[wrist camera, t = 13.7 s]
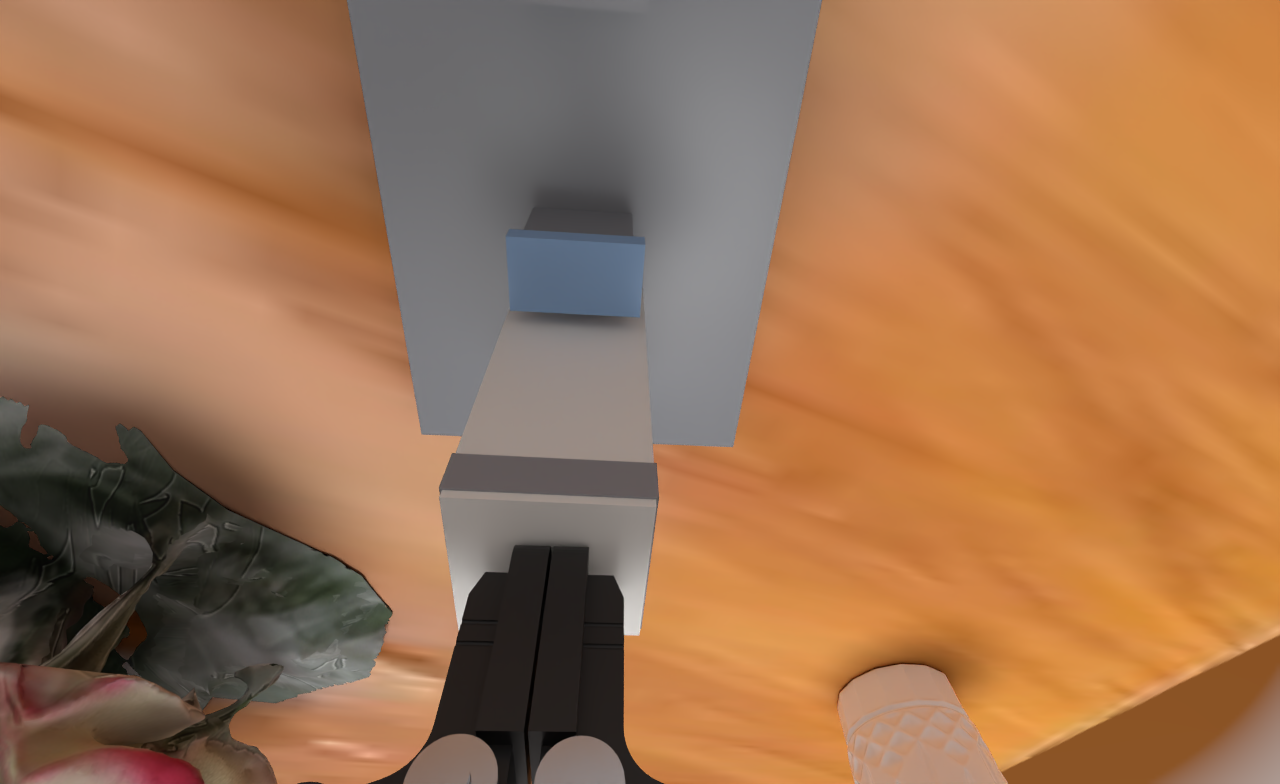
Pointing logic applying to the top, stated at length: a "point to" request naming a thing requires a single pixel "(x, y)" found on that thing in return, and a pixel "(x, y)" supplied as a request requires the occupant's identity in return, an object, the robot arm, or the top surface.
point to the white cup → (911, 730)
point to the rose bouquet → (154, 619)
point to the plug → (557, 454)
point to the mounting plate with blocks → (584, 181)
